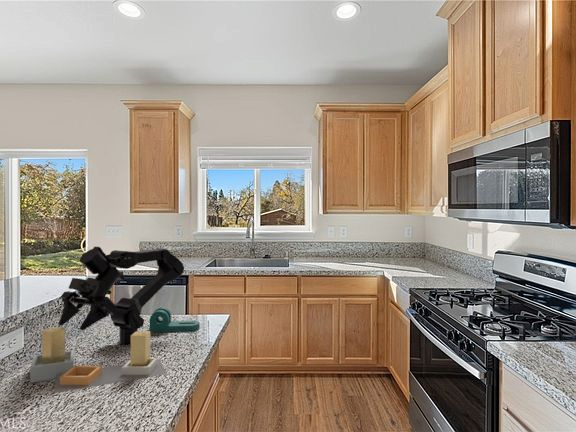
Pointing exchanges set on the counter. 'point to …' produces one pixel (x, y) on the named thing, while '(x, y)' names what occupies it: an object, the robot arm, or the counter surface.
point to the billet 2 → (140, 348)
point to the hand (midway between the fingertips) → (70, 327)
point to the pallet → (105, 375)
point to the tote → (50, 367)
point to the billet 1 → (53, 345)
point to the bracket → (170, 322)
